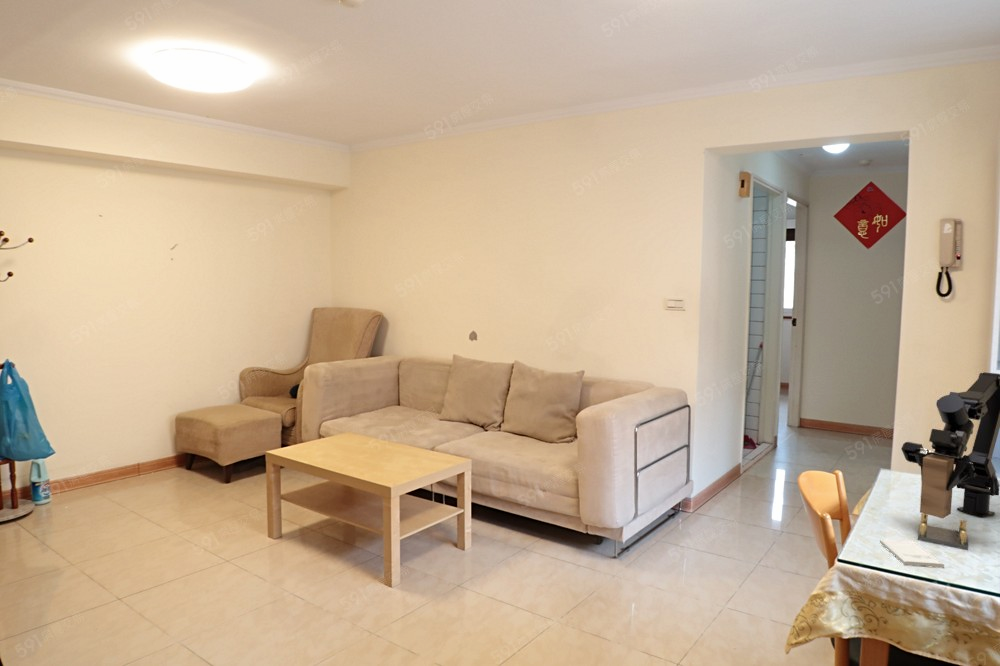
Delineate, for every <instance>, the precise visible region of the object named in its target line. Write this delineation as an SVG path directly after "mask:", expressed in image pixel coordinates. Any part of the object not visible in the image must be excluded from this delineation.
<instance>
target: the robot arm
mask: <svg viewBox="0 0 1000 666" xmlns="http://www.w3.org/2000/svg"><path fill="white" fill-rule="evenodd" d="M935 404H936V408H937V410H938V411H937V412H938V414H939V416H940V419H941V421H942V423H944V427H943V429H936V428H932V429H931V431H930V435H929V440H928V442H929V443H930V442H931V443H932V444H931V448H932V450H934V451H931V450H929V449H927V448H925V447H924V446H923V445H922V443H915V442H911V441H906V442H904V443H903V444H902V446H901V451H902V454H903V456H904V459H905V460H906V461H907V462H909V463H913V464H917V465H918V467H920V475H921V477H920V479H921V482H922V469H923V457H926V456H928V455H930V454H933V455H938V456H943V457H948V458H953V459H954V471H953V473H952V475H951V477H950V479H949V482H948V484H947V487H946V489H947V490H948V491H949V490H951V489H952V490H953V488H955V487H956V489H960V490H961V489H962V490H964V491H963V493H964V494H963V501H962V502H963V503H962V506H960V507H957V508H956V510H957V511H959V512H963V513H966V514H969V515H973V516H976V517H979V518H984V517H989V516H993V515H996V512H995V511H993V510H992V511H991V510H990V502H991V501H990V499H991V497H993V496H1000V482H999V480H998V477H997V473H996V472H997V470H996V469H995V467H994V464H993V462H992V459H993V455H994V450H995V448H996V443H997V439H998V435H999V432H1000V373H994V372H984V371H983V372H980V373H979V374H978V378H977V379H976V381H974V383H973V384H971V385H970V387H969V388H968V389H967V390H966V391H960V392H957V391H956V392H955V391H950V392H949V394H947V395H943V396H941V397H940V398H939V399H937V400H936V403H935ZM972 420H973V421H974V420H976V421H979V424H978V428H977V431H976V435H975V439H974V442H973V445H972V450H971V452H970V453H969V454H968V455H966V454H964V453H965V452H967V450H968V446H967V445H968V442H969V440H970V437H971V435H973V433H974V426H975V425H974V423H973V421H972Z"/></svg>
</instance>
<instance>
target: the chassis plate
mask: <svg viewBox="0 0 1000 666" xmlns="http://www.w3.org/2000/svg"><path fill="white" fill-rule="evenodd" d="M928 516H929V515H928V514H924V513H921V514H920V523H919V524H918V531H917V539H916V540H917V541H921V542H925V543H927V542H928V543H931V542H932V544H936V545H941V546H947V547H951V548H957V549H961V550H965V551H968V550H969V540H968V531H967V521H966V520H959V523H958V524H959V525H958V530H955V529H948V528H943V527H938V526H934V525H928V521H929V520H928Z"/></svg>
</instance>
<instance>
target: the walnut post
mask: <svg viewBox="0 0 1000 666" xmlns="http://www.w3.org/2000/svg"><path fill="white" fill-rule="evenodd" d="M954 469H955V464H954V459H953V458H948V457H943V456H938V455H933V454H930V455H928V456H926V457H923V469H922V481H921V488H920V503H919V505H920V506H919V513H921V514H922V513H924V514H927V515H928V516H933V517H936V518H940V519H944V518H946V517H947V516H949V515H951V514H952V502H953V501H952V499H953V488H952V489H951V490H949V491H948V490H947V489H946V487H947V484H948V482H949V479H950V477H951V475H952V473H953V471H954Z"/></svg>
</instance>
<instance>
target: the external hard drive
mask: <svg viewBox="0 0 1000 666" xmlns="http://www.w3.org/2000/svg"><path fill="white" fill-rule="evenodd" d="M880 543H881V544H882V545H883V546H884V547H883V546H882V545H881V544H880ZM879 544H880V545H881V546H882V547H883V548H885V549H886V548H887V549H888V550H889V551H890V552H891V553H892V554H893V555H892V554H891V553H890V552H889V551H888V550H887V549H886V550H887V551H888V552H889V553H890V554H891V555H892V556H894V555H895V556H896V557H897V558H898V559H899V560H900V561H901V562H902V563H903V564H902V563H901V562H900V561H899V560H898V559H897V558H896V557H895V556H894V557H895V558H896V559H897V560H898V561H899V562H900V563H901V564H902V565H904V566H908V565H914V566H913V567H926V566H932V567H931V568H936V567H942V568H941V569H944V568H945V564H944V563H943V562H941V560H940V559H938V558H936V557H935V556H934V555H933V554H932V553H930V552H929V551H928V550H927V549H926V548H924V547H923V546H922V545H920V544H919V543H918V542H916V541H912V540H911V541H910V540H898V539H885V538H884V539H879Z"/></svg>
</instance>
